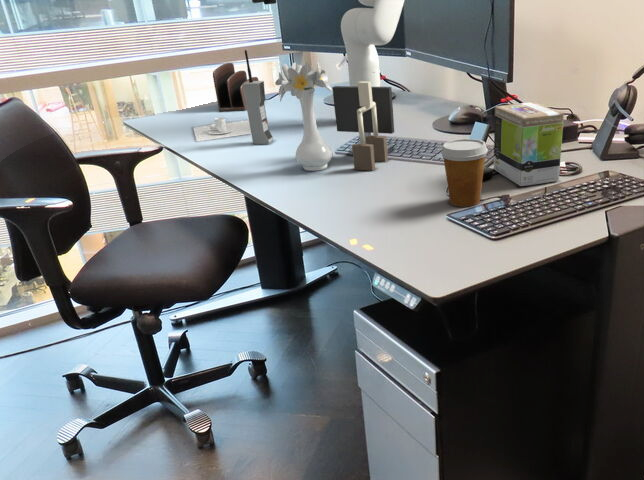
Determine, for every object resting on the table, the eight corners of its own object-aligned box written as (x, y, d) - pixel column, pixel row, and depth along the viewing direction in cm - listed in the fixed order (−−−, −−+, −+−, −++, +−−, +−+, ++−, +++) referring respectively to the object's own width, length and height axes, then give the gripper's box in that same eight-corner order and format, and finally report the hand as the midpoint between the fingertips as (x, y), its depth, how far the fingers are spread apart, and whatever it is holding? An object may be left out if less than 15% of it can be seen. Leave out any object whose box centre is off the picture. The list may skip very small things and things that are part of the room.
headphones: (370, 158, 170) (363, 78, 159) (388, 159, 168) (382, 78, 158) (354, 169, 163) (345, 85, 152) (372, 170, 161) (364, 86, 150)
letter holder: (219, 111, 233) (210, 69, 226) (237, 99, 250) (230, 60, 242) (245, 110, 232) (237, 68, 224) (262, 98, 248) (255, 58, 241)
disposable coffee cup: (439, 196, 142) (437, 140, 135) (482, 192, 142) (482, 136, 136) (445, 211, 134) (444, 152, 127) (491, 207, 134) (492, 148, 128)
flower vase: (325, 154, 176) (313, 54, 163) (349, 171, 162) (338, 62, 148) (279, 163, 172) (262, 60, 158) (299, 181, 158) (283, 70, 144)
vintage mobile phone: (269, 144, 189) (253, 50, 176) (253, 144, 190) (236, 51, 177) (273, 141, 192) (258, 48, 179) (257, 141, 193) (241, 49, 180)
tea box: (560, 181, 145) (565, 112, 137) (519, 188, 143) (522, 118, 135) (530, 164, 157) (533, 99, 149) (492, 170, 155) (492, 105, 147)
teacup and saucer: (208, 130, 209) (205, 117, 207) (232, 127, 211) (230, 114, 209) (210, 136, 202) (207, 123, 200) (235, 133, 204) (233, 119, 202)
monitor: (350, 147, 181) (344, 82, 172) (403, 150, 175) (399, 82, 166) (339, 154, 176) (331, 87, 166) (393, 157, 170) (388, 88, 161)
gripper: (278, -79, 155) (289, 3, 164) (256, -75, 168) (267, 0, 177) (247, -77, 152) (260, 6, 162) (227, -73, 165) (240, 3, 175)
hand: (264, 3), depth 169 cm, fingers open, 9 cm apart
